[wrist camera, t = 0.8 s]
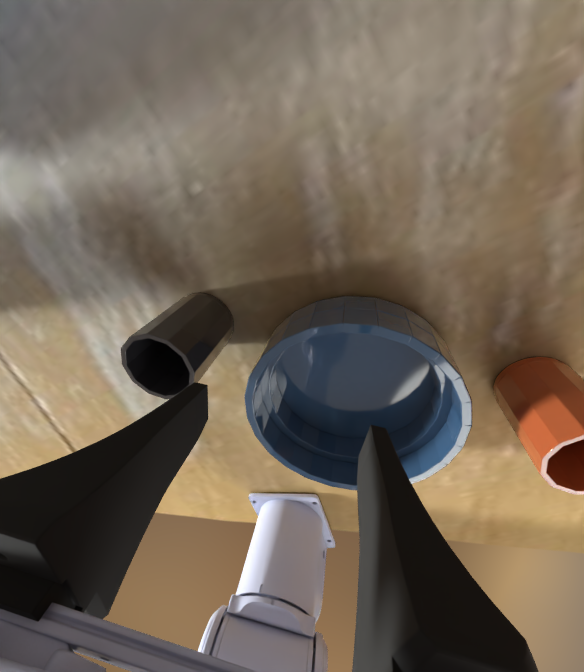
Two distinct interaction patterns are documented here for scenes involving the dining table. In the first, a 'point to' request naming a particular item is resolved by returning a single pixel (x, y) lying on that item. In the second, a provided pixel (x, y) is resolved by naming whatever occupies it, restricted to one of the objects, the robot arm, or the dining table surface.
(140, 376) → the charcoal cup
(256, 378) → the bowl
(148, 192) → the dining table surface
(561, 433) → the terracotta cup
